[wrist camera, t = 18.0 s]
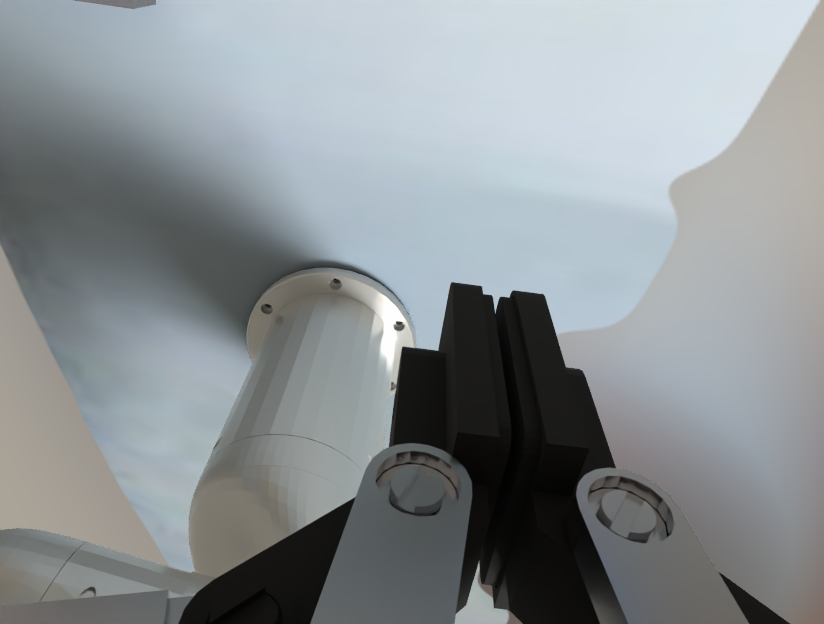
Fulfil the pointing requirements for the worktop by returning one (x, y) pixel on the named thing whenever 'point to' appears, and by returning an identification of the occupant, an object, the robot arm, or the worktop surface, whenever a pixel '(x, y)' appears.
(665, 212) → the worktop surface
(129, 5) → the button housing
